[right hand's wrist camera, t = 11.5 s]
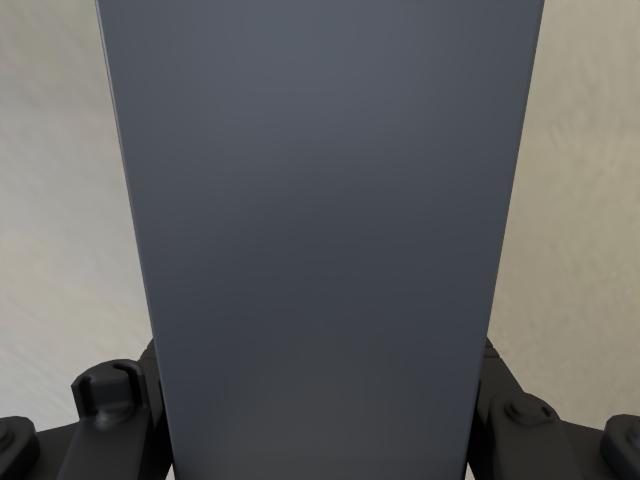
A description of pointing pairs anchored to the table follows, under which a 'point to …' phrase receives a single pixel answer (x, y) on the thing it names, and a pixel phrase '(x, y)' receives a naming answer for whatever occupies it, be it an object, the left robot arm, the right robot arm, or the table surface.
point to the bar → (319, 221)
